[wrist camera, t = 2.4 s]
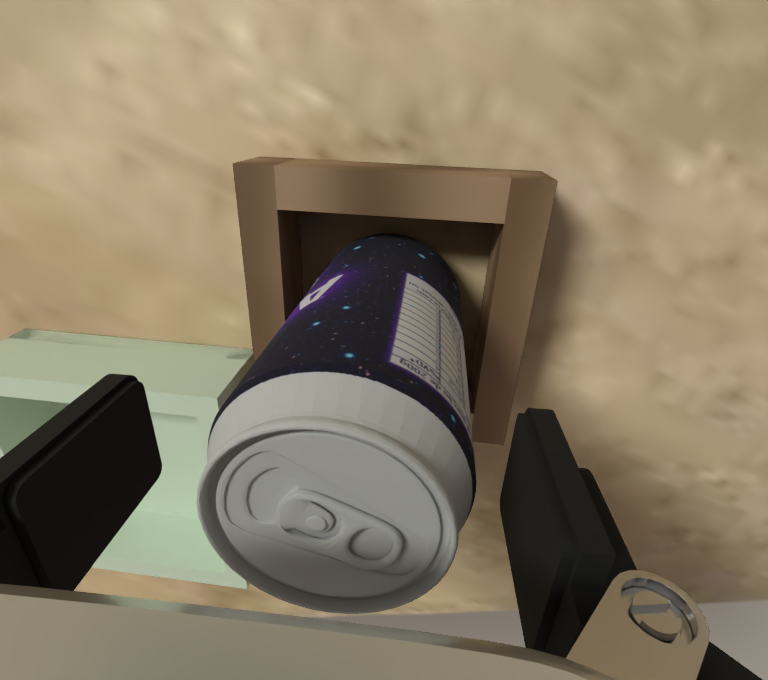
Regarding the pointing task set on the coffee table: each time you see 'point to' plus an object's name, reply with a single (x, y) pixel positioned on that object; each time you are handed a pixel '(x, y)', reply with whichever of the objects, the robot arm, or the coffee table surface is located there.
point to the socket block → (409, 200)
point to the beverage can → (349, 439)
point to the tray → (171, 426)
